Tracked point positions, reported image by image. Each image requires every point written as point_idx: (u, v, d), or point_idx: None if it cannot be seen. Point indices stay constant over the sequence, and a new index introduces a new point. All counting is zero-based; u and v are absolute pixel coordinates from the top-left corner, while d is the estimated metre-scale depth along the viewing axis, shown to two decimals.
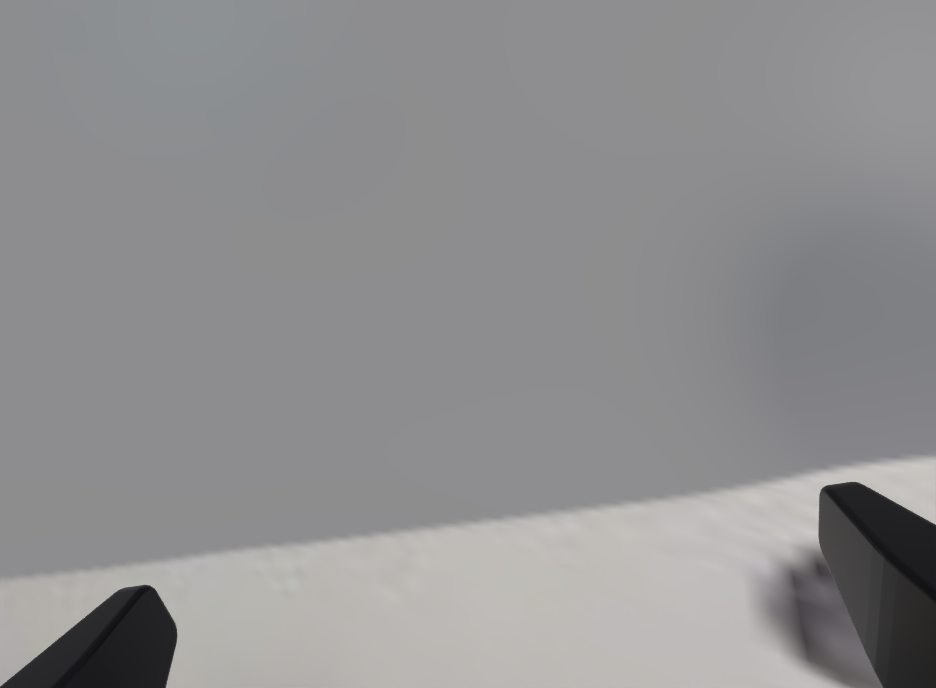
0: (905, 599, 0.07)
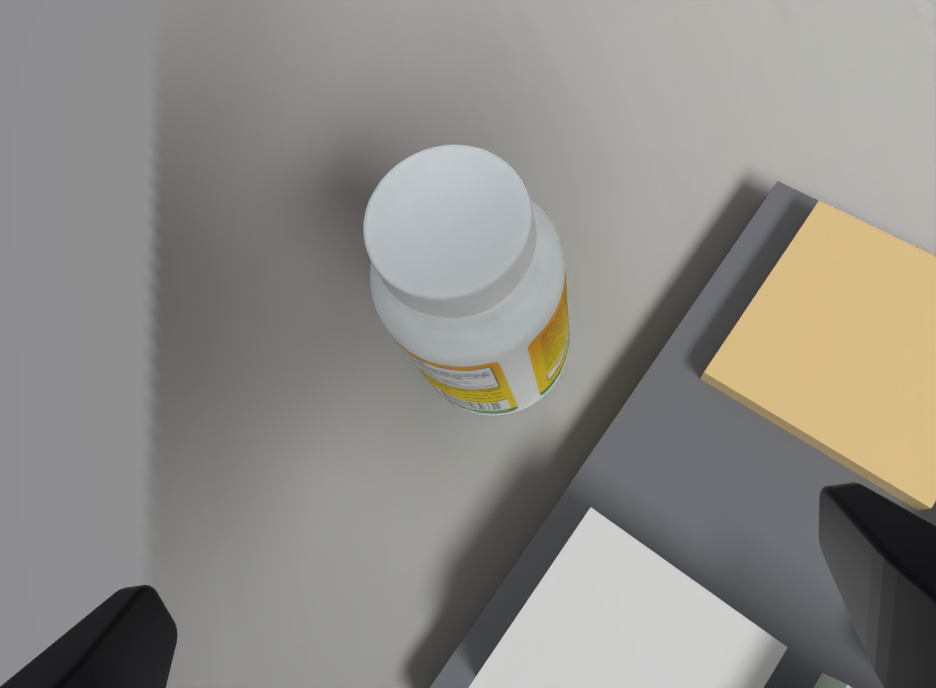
0: (905, 599, 0.07)
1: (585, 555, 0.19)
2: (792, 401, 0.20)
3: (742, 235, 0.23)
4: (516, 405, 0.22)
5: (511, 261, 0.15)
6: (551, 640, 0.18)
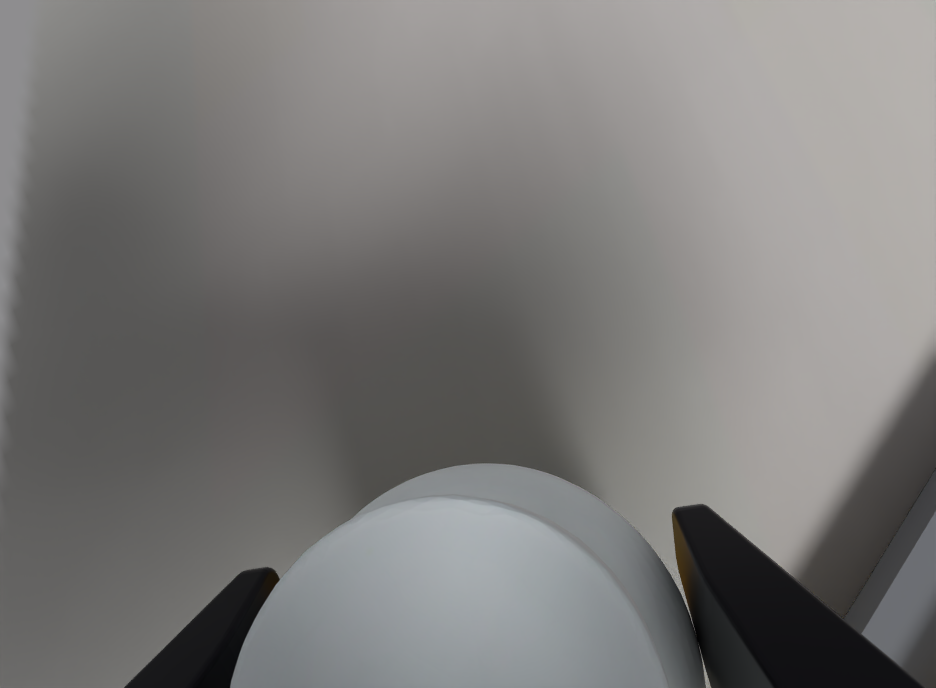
0: (717, 623, 0.07)
1: None
2: None
3: None
4: None
5: None
6: None
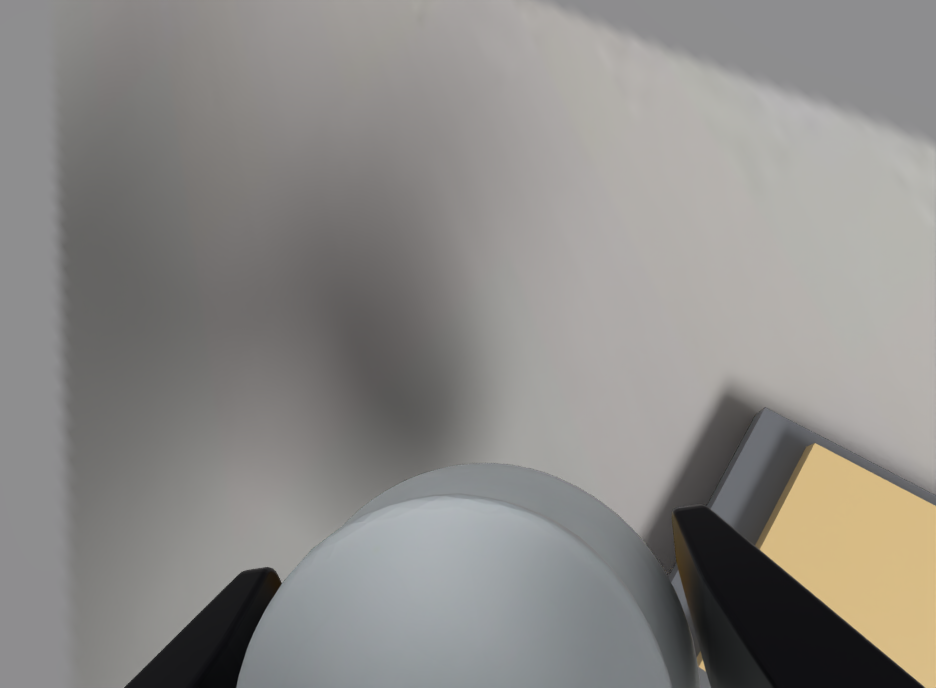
0: (717, 623, 0.07)
1: None
2: None
3: (730, 476, 0.20)
4: None
5: None
6: None
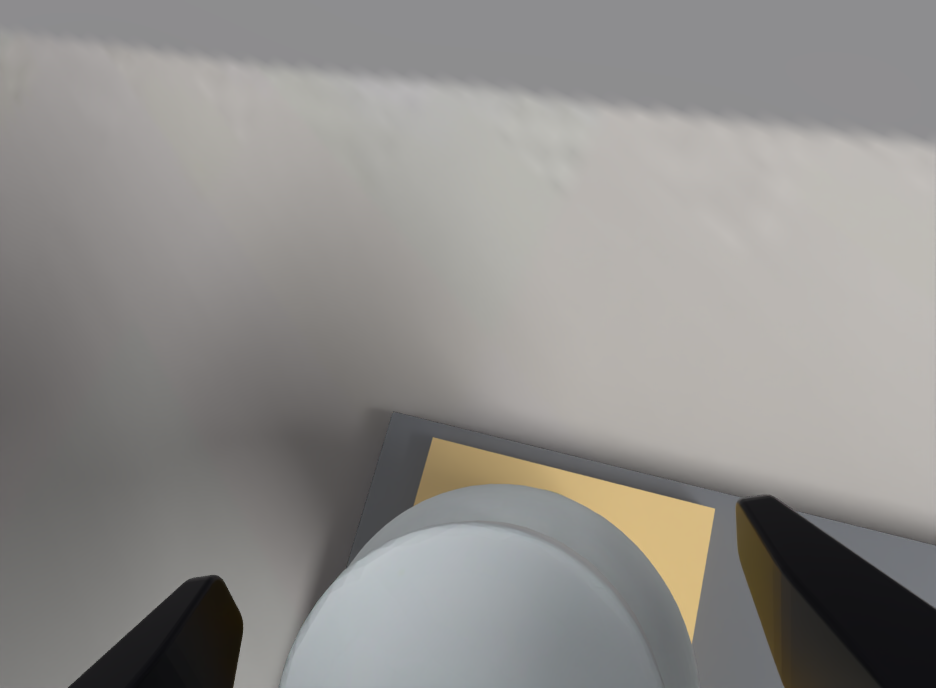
0: (798, 613, 0.07)
1: None
2: None
3: (369, 497, 0.18)
4: None
5: None
6: None
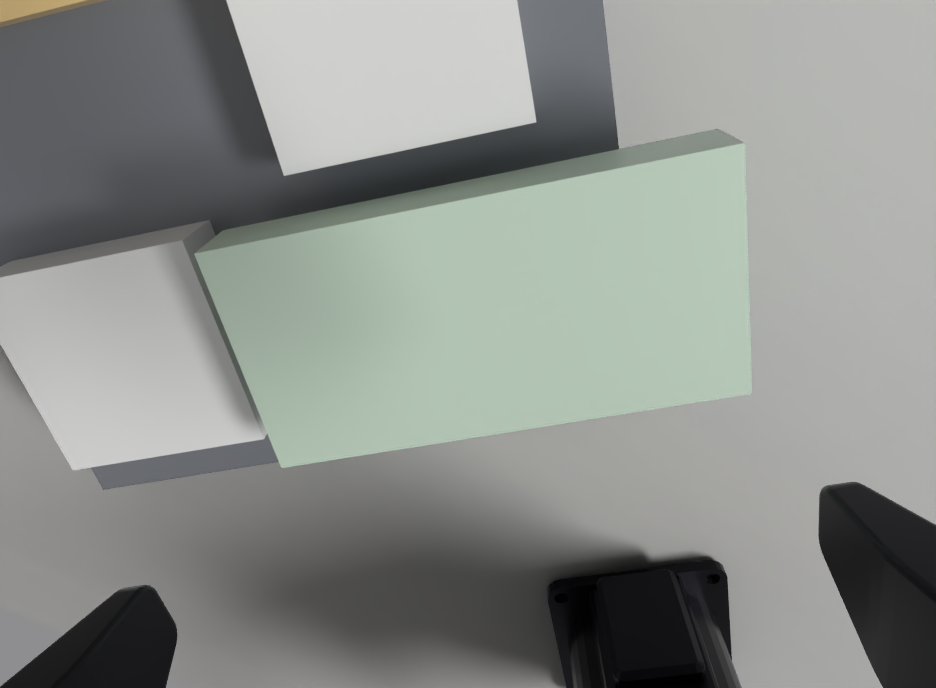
0: (905, 599, 0.07)
1: (10, 321, 0.18)
2: None
3: None
4: None
5: None
6: (69, 395, 0.19)
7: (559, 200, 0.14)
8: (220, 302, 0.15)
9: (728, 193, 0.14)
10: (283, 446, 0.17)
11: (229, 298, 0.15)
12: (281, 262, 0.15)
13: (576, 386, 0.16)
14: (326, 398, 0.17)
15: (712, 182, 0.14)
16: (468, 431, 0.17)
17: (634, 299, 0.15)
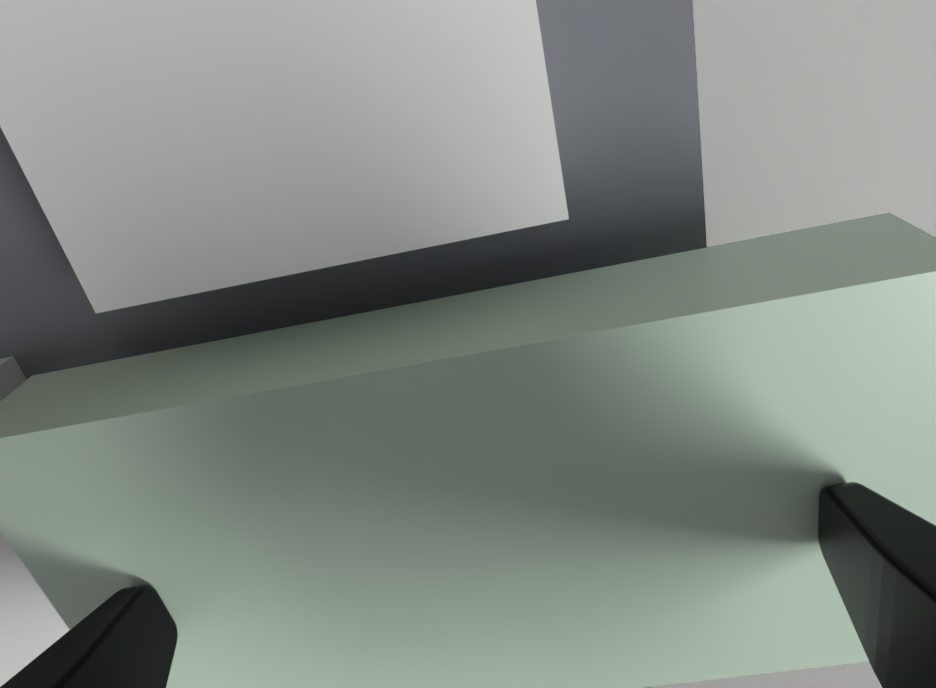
0: (904, 599, 0.07)
1: None
2: None
3: None
4: None
5: None
6: None
7: (612, 363, 0.07)
8: (6, 522, 0.09)
9: None
10: None
11: (21, 515, 0.09)
12: (103, 461, 0.08)
13: (629, 643, 0.10)
14: (210, 656, 0.10)
15: (908, 333, 0.07)
16: None
17: (740, 520, 0.08)
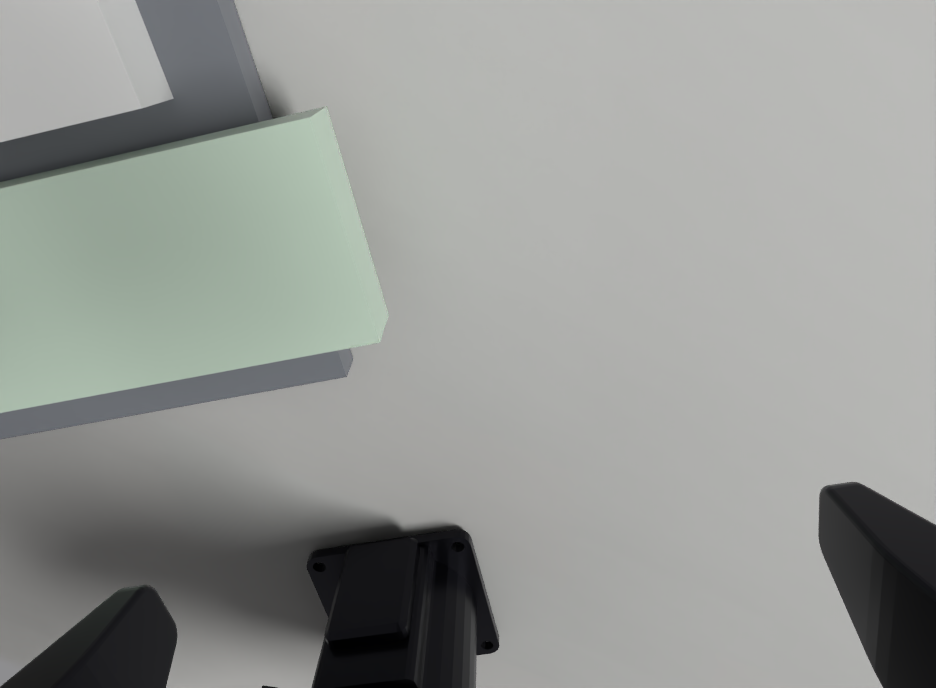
0: (905, 599, 0.07)
1: None
2: None
3: None
4: None
5: None
6: None
7: (165, 169, 0.16)
8: None
9: (308, 162, 0.16)
10: None
11: None
12: None
13: (225, 337, 0.18)
14: (10, 351, 0.19)
15: (292, 152, 0.16)
16: (142, 379, 0.19)
17: (253, 257, 0.17)
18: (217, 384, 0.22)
